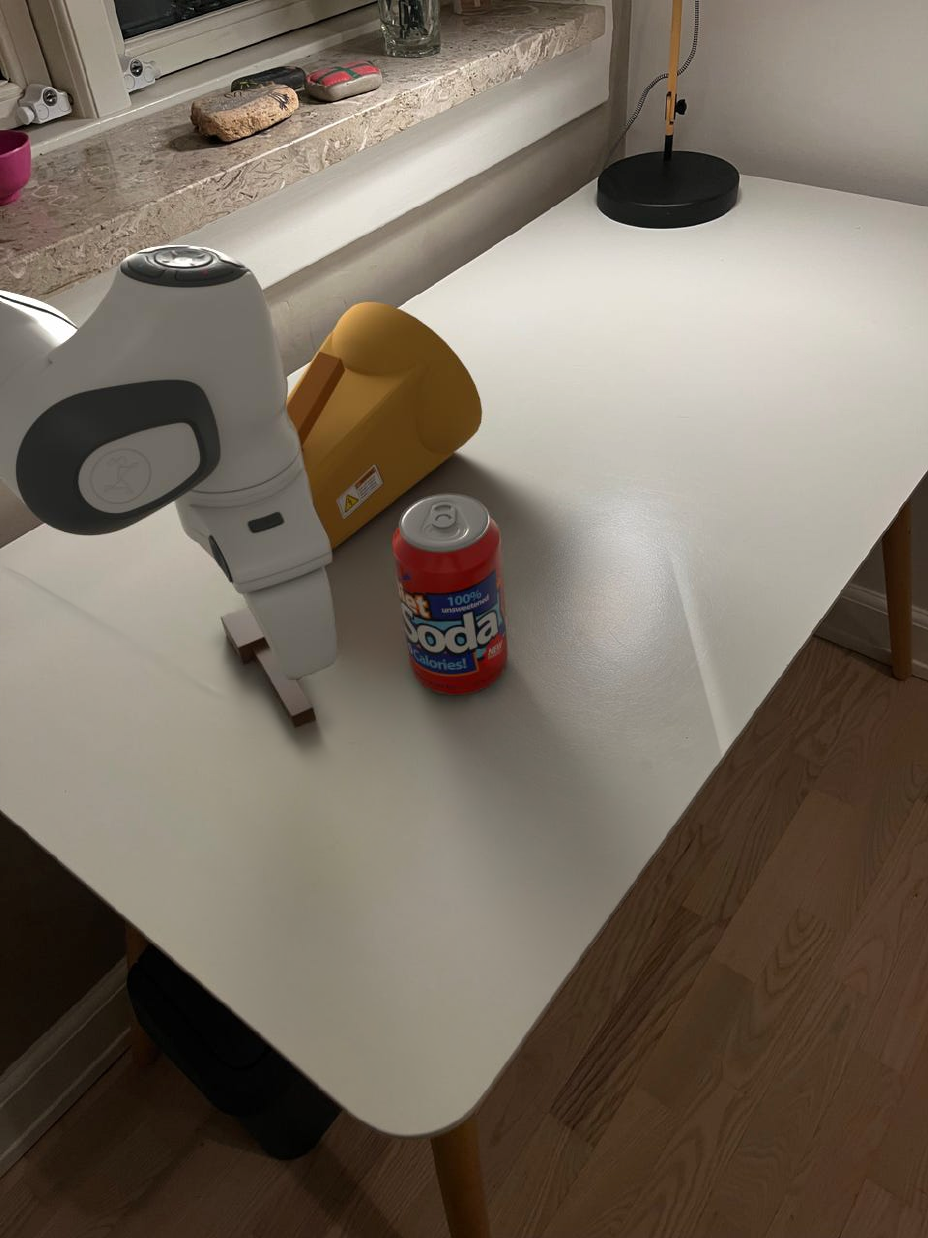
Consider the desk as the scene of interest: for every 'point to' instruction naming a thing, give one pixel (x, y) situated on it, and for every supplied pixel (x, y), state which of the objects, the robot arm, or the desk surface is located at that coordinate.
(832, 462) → the desk surface
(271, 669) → the wooden mallet
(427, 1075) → the desk surface
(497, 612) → the soda can
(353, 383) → the flared yellow plastic housing
